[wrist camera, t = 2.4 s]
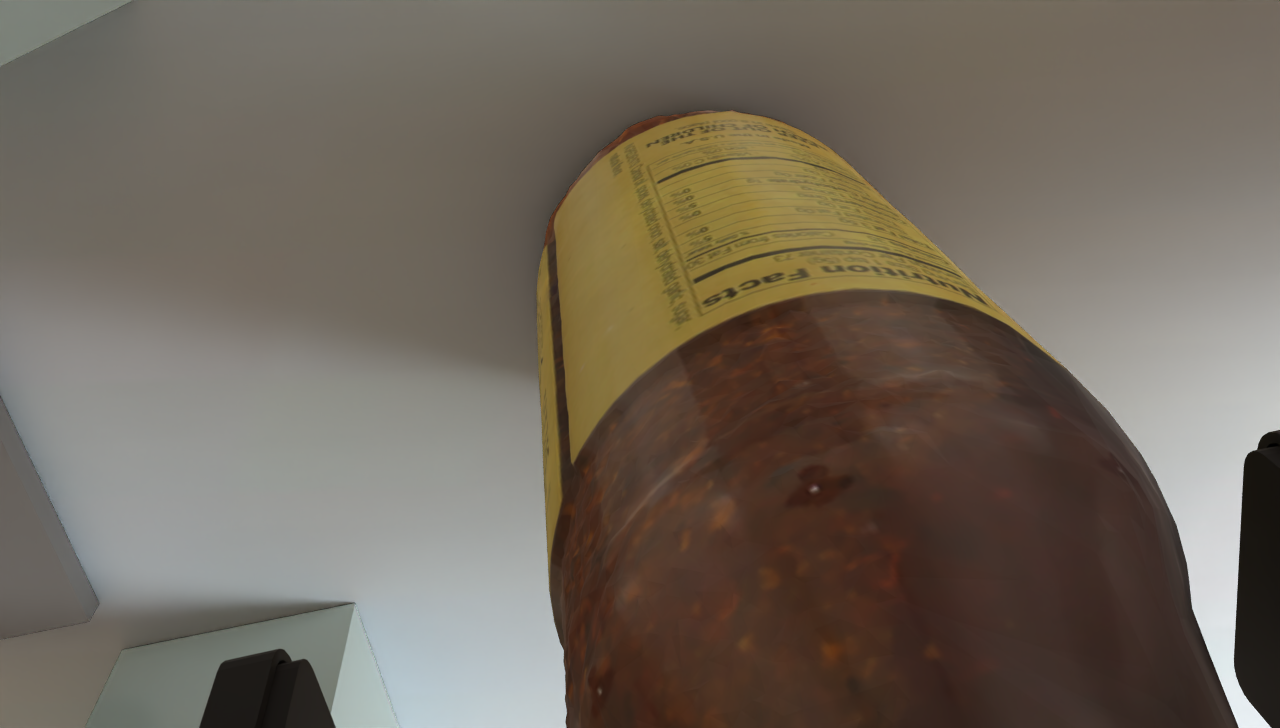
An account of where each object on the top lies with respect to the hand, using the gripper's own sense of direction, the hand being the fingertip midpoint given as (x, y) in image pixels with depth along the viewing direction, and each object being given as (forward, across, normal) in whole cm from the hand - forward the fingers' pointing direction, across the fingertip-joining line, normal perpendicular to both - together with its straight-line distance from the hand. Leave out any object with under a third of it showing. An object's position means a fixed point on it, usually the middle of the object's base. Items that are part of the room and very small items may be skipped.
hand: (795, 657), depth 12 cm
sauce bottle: (+12, -1, 0) cm, 12 cm away
